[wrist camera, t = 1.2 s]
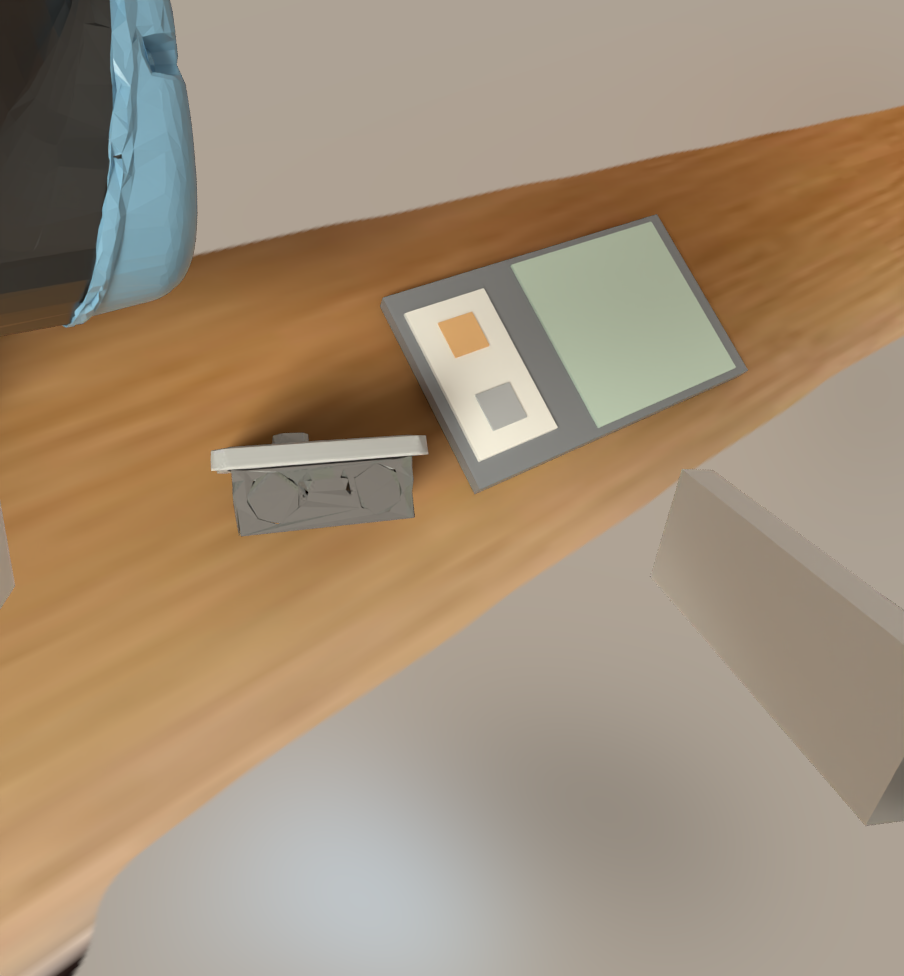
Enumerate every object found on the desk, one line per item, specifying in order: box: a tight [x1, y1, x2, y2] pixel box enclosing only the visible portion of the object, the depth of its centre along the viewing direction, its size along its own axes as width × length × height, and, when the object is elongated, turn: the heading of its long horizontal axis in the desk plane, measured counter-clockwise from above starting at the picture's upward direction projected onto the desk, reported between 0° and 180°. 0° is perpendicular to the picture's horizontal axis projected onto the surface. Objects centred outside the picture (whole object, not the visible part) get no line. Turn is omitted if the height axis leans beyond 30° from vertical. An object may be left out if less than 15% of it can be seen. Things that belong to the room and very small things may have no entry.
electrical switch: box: [211, 433, 429, 536], centre depth 33 cm, size 9×5×9 cm, turn 99°
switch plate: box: [380, 214, 748, 494], centre depth 43 cm, size 22×13×1 cm, turn 117°
